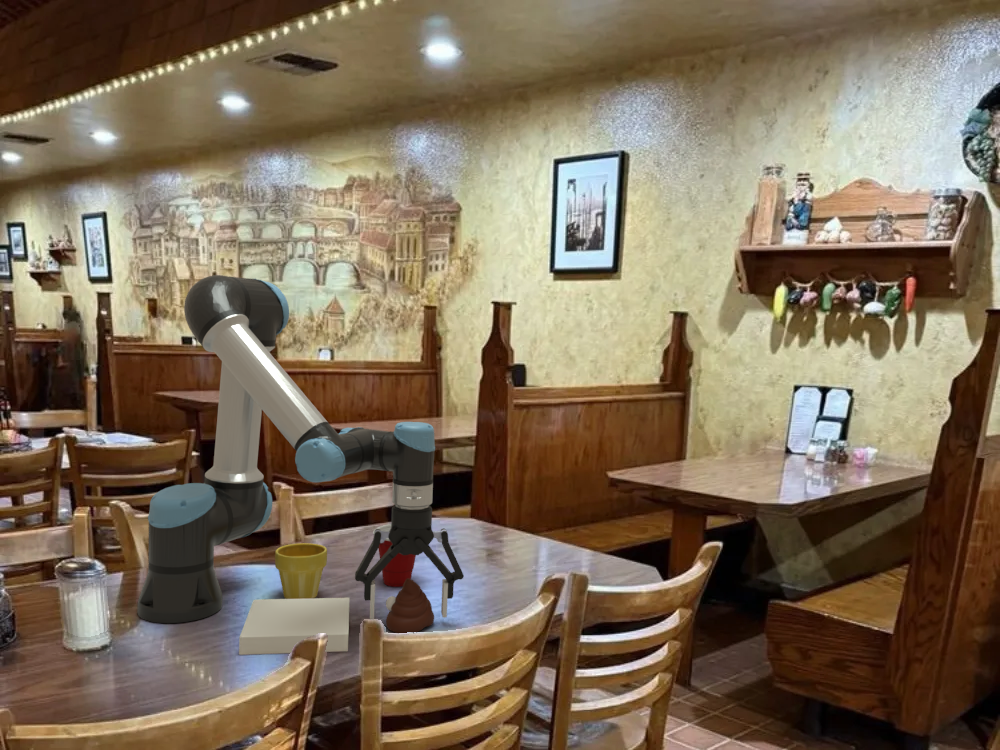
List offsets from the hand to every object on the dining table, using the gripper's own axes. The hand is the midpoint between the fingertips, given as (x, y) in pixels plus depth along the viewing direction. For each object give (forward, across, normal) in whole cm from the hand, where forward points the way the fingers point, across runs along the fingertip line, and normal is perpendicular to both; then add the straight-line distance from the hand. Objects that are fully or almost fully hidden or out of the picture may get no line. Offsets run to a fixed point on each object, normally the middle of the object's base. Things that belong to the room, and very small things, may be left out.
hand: (408, 615), depth 146 cm
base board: (+2, -20, -2) cm, 20 cm away
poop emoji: (+2, 0, 0) cm, 2 cm away
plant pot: (+2, -21, +17) cm, 27 cm away
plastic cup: (+2, -1, +24) cm, 24 cm away
